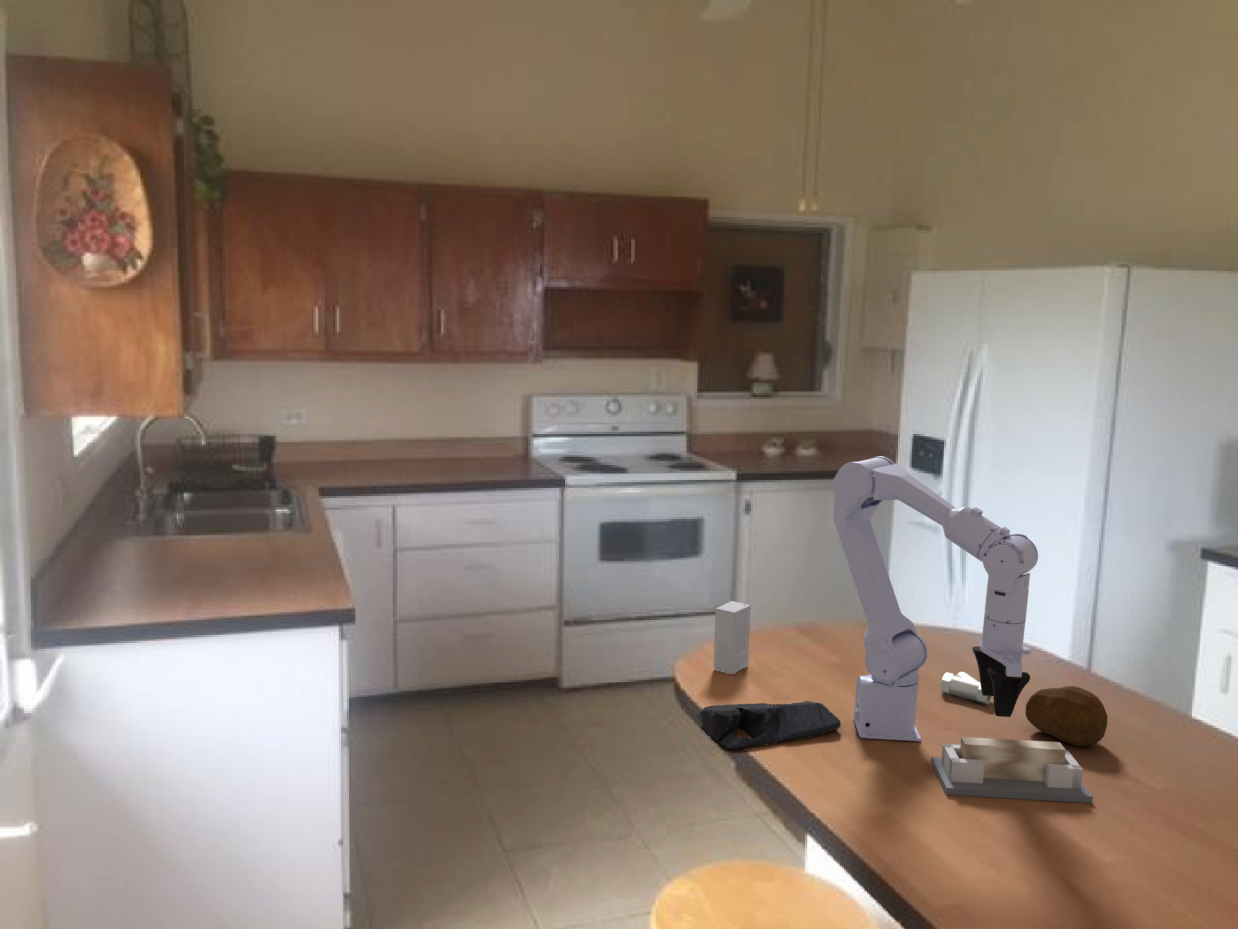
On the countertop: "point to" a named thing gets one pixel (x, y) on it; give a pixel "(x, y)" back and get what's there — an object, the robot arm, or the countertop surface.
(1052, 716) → the potato
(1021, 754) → the slat
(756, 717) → the black folded cloth
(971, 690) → the pipe fitting
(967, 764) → the board
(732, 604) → the skincare box
